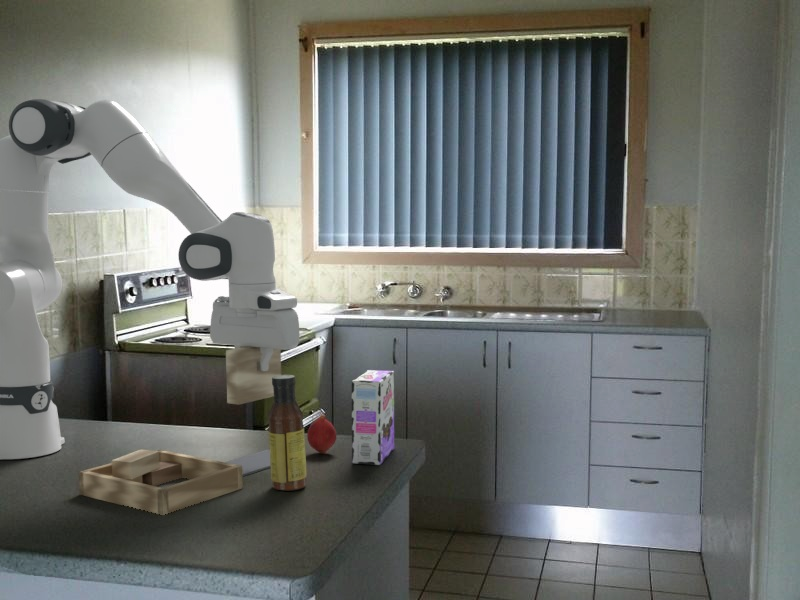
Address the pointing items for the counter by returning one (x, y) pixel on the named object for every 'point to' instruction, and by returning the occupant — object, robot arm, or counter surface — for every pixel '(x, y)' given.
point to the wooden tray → (202, 486)
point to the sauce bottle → (286, 437)
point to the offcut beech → (135, 464)
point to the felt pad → (253, 462)
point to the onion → (321, 435)
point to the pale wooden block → (250, 375)
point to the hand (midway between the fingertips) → (254, 369)
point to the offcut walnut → (163, 473)
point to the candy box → (372, 417)
